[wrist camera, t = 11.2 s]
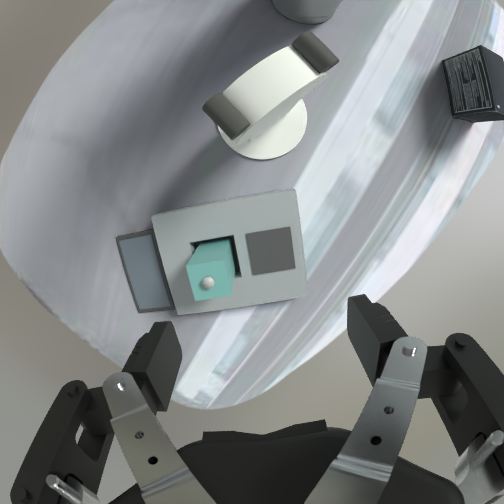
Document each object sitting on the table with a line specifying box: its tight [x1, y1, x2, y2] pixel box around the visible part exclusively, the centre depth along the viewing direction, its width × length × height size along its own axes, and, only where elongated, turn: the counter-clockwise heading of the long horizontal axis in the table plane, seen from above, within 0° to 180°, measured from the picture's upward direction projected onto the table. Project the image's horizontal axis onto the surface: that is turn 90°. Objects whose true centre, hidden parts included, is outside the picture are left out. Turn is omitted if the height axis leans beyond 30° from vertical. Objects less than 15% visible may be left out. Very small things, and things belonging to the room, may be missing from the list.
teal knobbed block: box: [186, 238, 236, 301], centre depth 32 cm, size 4×4×10 cm
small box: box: [442, 45, 504, 123], centre depth 24 cm, size 11×6×10 cm, turn 5°
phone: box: [116, 229, 175, 313], centre depth 38 cm, size 6×12×1 cm, turn 9°
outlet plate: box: [151, 188, 308, 315], centre depth 36 cm, size 14×18×3 cm
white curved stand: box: [202, 31, 339, 159], centre depth 25 cm, size 12×11×15 cm
